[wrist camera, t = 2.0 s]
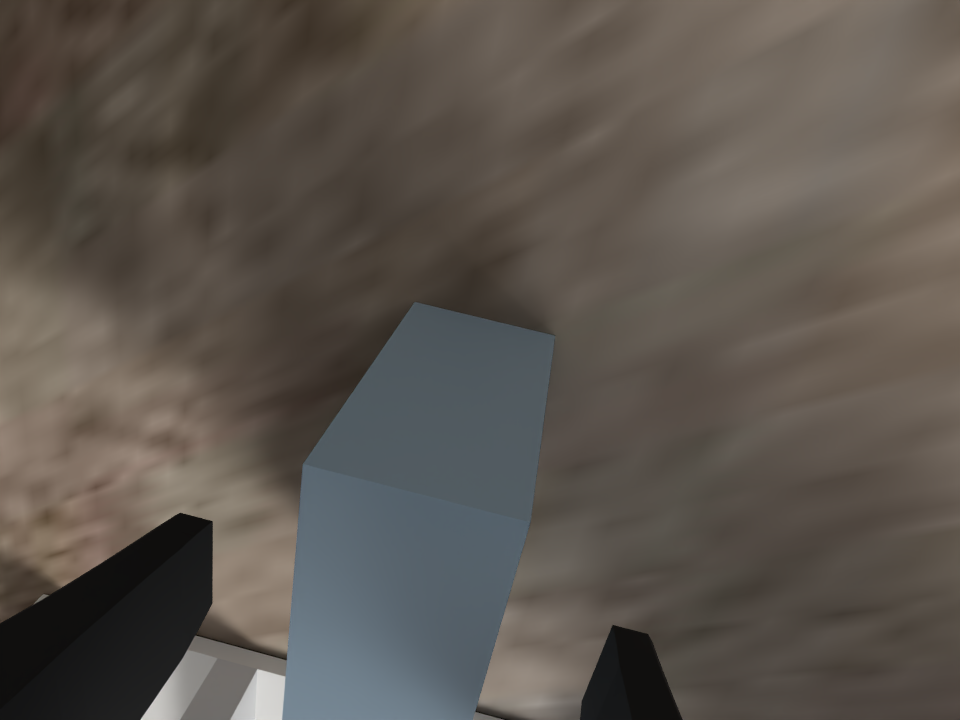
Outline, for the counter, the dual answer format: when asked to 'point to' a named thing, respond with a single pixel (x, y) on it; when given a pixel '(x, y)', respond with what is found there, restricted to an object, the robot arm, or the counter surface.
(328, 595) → the blue block
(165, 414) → the counter surface
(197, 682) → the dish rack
